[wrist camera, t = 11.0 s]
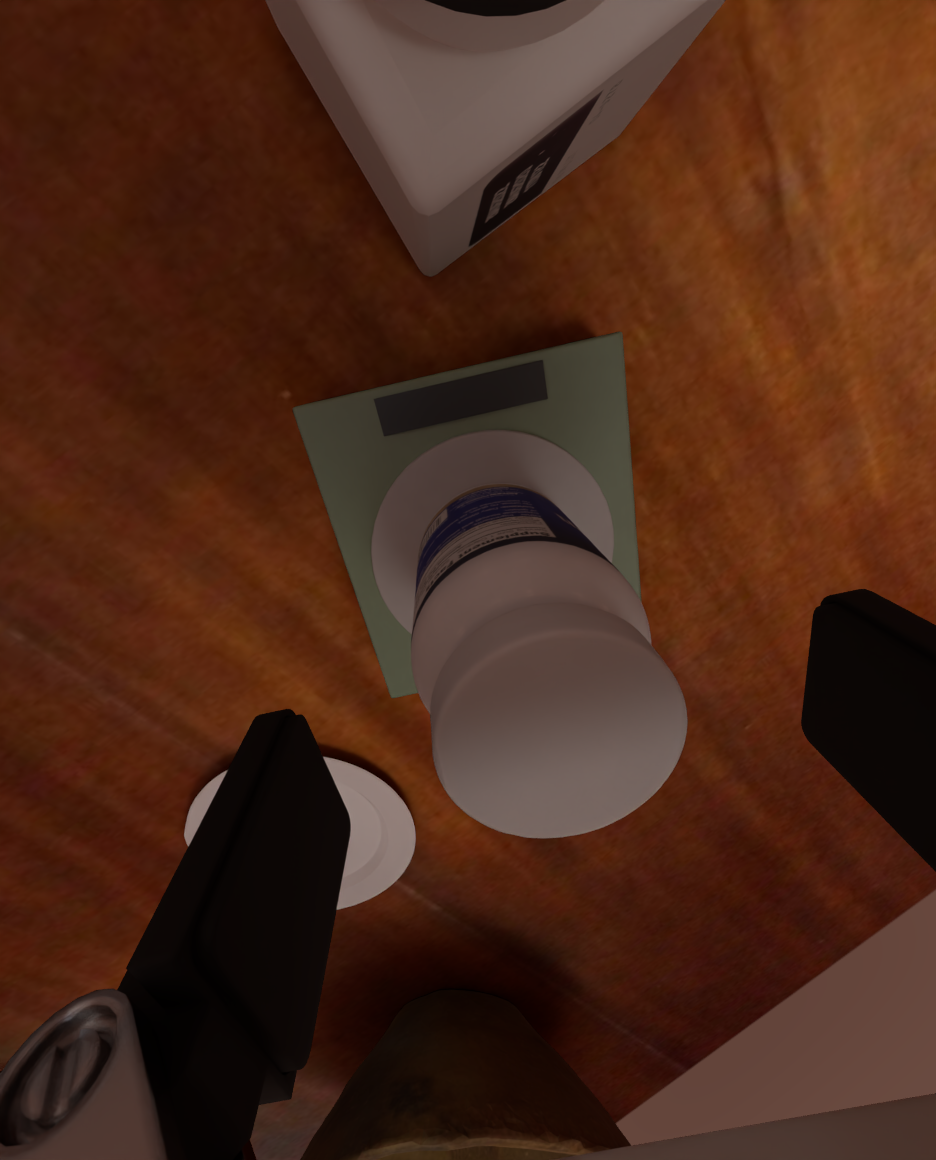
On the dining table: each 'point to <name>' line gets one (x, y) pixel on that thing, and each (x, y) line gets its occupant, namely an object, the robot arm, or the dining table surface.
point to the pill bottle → (537, 669)
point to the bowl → (463, 1091)
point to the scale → (470, 467)
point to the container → (480, 97)
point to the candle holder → (352, 830)
